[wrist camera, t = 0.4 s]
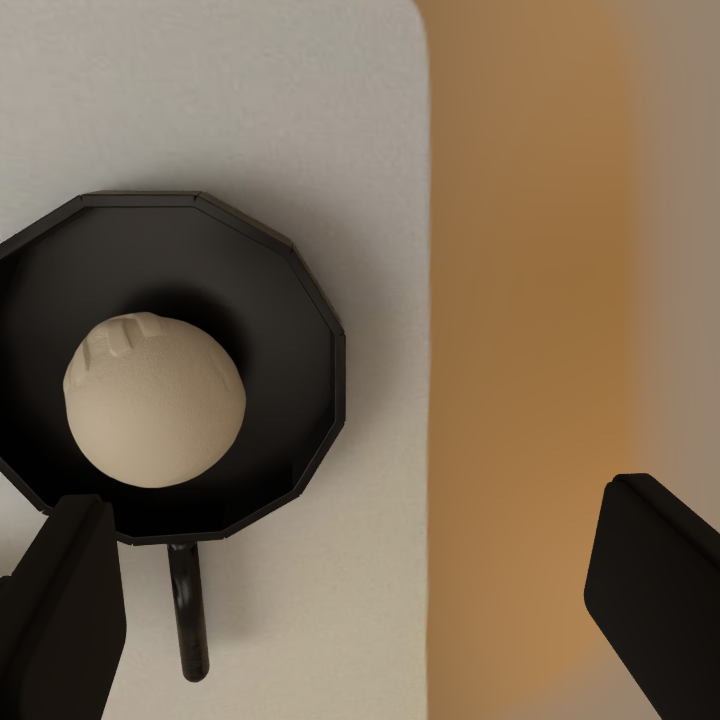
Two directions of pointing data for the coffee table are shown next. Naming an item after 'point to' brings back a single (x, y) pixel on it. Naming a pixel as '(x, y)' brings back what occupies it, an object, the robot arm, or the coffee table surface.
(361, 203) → the coffee table surface
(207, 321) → the pan
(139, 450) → the scored bread roll
